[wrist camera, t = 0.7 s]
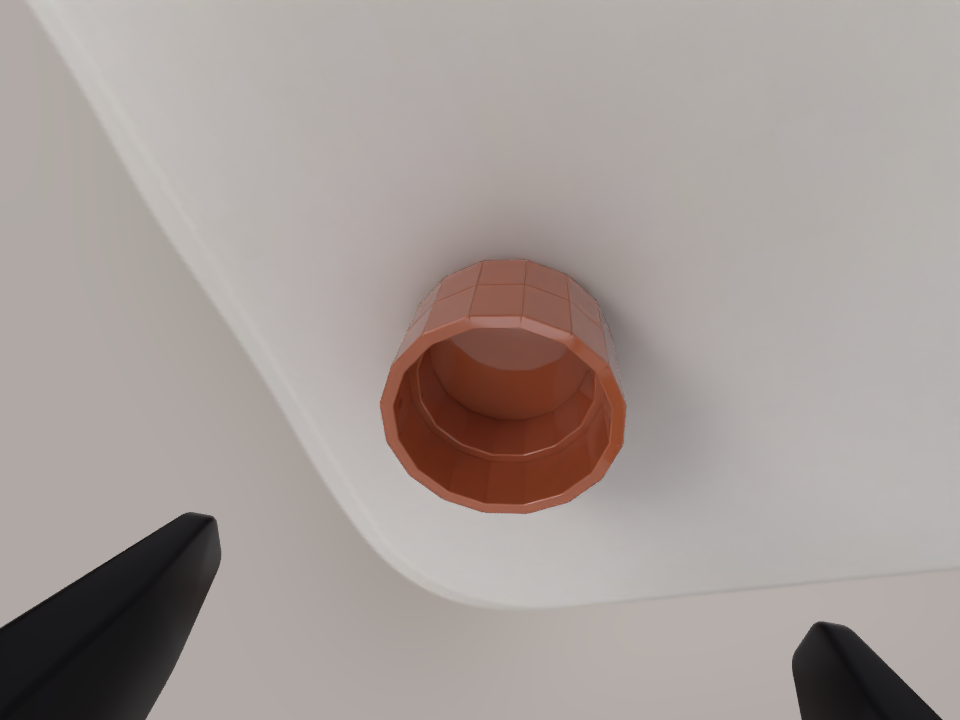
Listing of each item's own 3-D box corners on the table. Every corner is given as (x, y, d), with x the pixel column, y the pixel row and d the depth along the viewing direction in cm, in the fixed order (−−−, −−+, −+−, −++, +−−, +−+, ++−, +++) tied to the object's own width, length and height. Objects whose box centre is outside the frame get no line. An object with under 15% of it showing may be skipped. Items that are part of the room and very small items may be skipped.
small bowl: (652, 346, 19) (678, 426, 15) (513, 455, 22) (507, 545, 18) (504, 209, 17) (492, 261, 14) (375, 348, 20) (335, 423, 17)
